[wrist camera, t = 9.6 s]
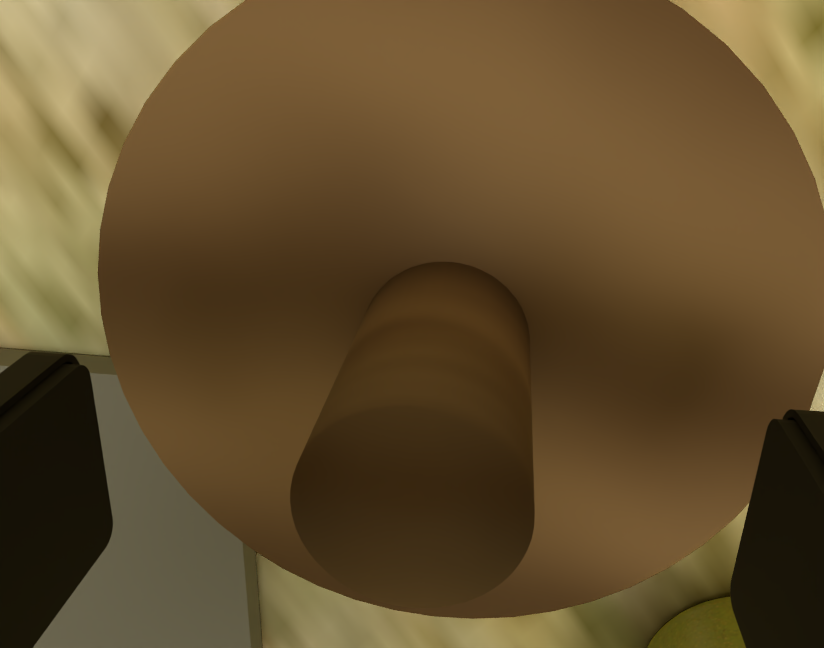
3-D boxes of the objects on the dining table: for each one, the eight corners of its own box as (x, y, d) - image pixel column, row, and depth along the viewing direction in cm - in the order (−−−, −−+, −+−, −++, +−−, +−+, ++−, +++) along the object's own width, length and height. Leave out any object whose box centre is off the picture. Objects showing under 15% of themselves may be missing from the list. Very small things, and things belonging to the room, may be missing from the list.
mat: (264, 684, 26) (255, 708, 26) (-65, 643, 28) (-85, 665, 27) (241, 367, 22) (229, 384, 21) (-158, 335, 23) (-186, 350, 22)
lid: (737, 622, 17) (838, 917, 12) (156, 559, 18) (7, 798, 13) (909, -51, 11) (1240, -74, 6) (70, -69, 13) (-242, -101, 8)
